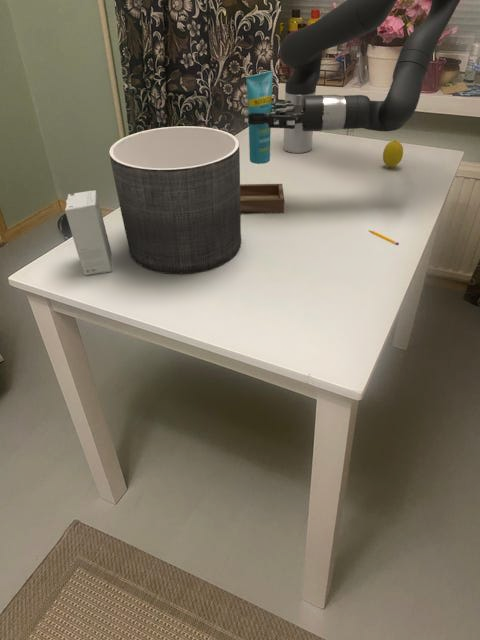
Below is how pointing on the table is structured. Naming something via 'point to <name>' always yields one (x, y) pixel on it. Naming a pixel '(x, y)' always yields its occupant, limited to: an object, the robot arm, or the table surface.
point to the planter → (179, 197)
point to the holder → (261, 198)
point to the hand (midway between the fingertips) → (248, 115)
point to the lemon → (393, 153)
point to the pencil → (384, 237)
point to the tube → (259, 103)
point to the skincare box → (89, 232)
